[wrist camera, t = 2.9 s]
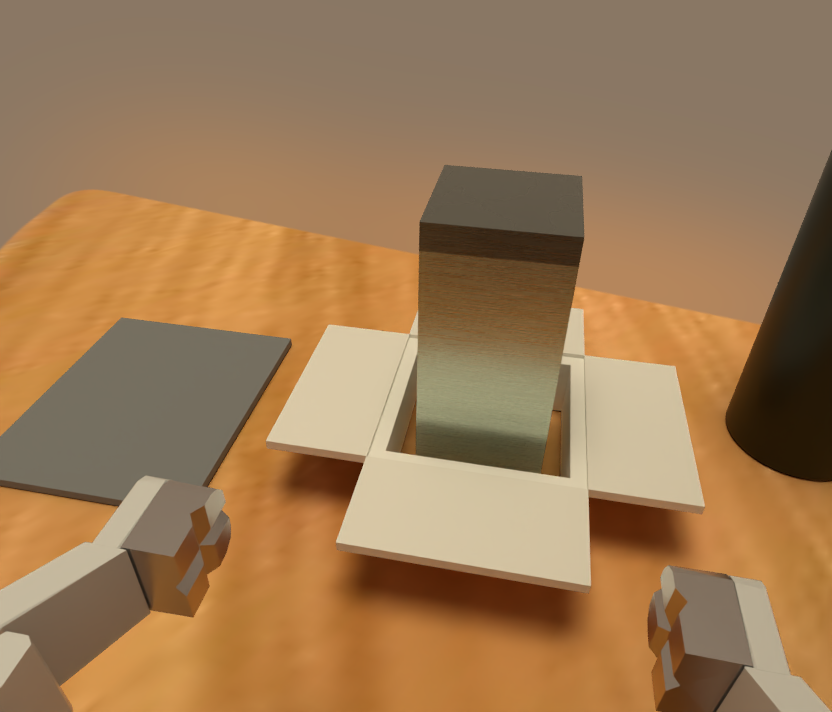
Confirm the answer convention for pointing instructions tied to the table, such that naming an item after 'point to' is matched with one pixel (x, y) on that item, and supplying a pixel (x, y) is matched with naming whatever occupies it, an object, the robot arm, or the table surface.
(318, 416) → the carton
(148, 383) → the mat
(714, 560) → the table surface
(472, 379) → the tea tin
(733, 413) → the wine bottle
